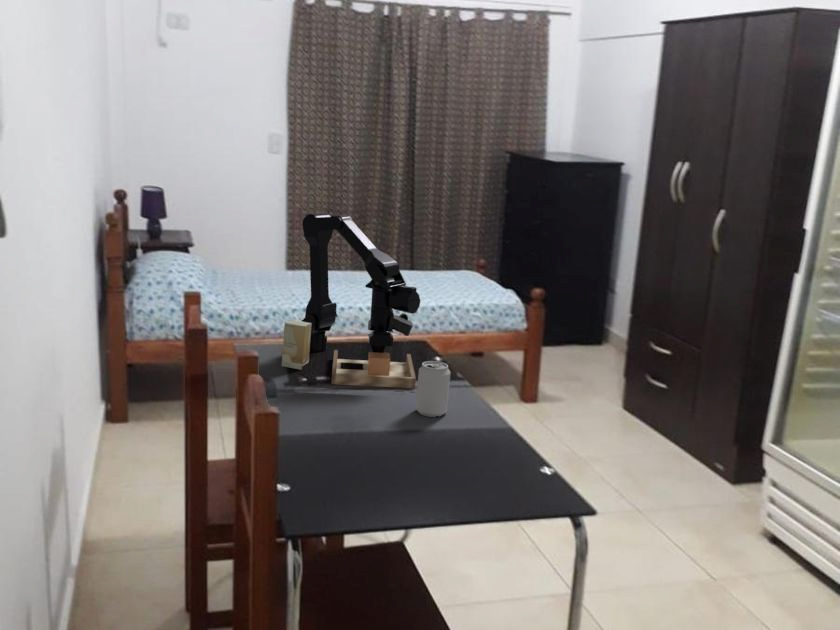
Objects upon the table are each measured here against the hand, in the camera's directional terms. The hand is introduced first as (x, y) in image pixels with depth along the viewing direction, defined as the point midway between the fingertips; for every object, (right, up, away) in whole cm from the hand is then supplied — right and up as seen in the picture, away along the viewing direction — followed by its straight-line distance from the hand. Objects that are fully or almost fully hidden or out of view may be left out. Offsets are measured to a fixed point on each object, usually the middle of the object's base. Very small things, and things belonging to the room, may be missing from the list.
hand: (378, 362), depth 231 cm
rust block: (0, -2, -4) cm, 5 cm away
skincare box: (-22, -1, -1) cm, 22 cm away
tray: (-1, -4, -5) cm, 7 cm away
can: (+14, -10, -28) cm, 33 cm away
